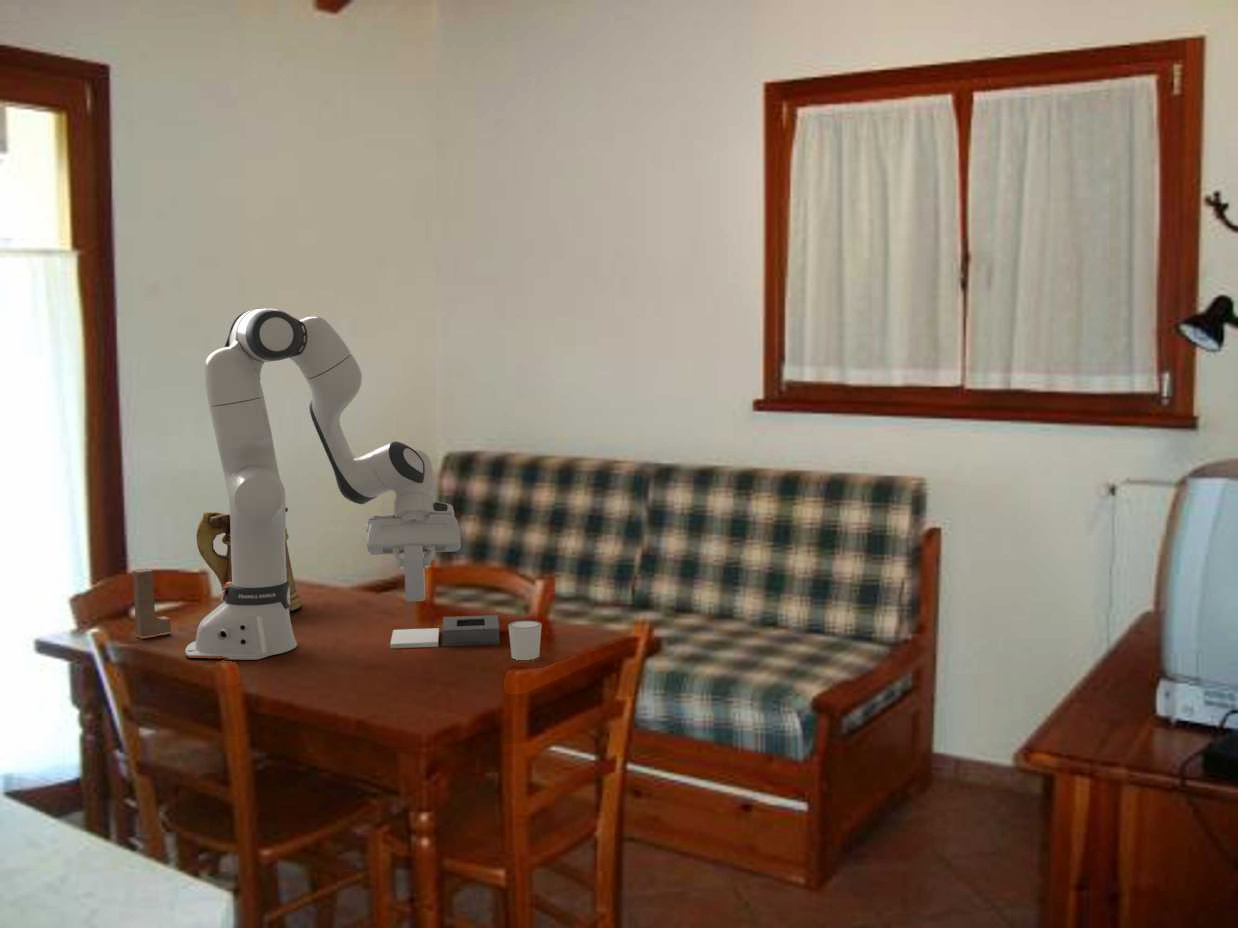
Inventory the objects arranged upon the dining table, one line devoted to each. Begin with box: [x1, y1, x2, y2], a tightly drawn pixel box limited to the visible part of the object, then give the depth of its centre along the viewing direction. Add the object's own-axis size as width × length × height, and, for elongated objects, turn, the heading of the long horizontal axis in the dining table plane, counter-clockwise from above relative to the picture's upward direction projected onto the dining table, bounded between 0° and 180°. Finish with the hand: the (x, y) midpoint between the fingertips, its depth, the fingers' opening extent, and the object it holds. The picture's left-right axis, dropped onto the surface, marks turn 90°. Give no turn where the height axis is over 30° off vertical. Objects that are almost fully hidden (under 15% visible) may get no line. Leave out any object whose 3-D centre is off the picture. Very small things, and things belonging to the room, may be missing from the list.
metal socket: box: [442, 614, 501, 647], centre depth 268 cm, size 12×12×4 cm
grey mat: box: [389, 627, 440, 649], centre depth 267 cm, size 10×12×1 cm
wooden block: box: [132, 567, 172, 636], centre depth 271 cm, size 7×3×15 cm, turn 131°
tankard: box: [196, 505, 302, 613], centre depth 293 cm, size 18×24×25 cm
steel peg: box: [403, 543, 426, 603], centre depth 265 cm, size 4×4×12 cm
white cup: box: [507, 620, 542, 661], centre depth 253 cm, size 7×7×7 cm
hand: (414, 567), depth 265 cm, fingers closed on steel peg, 4 cm apart
